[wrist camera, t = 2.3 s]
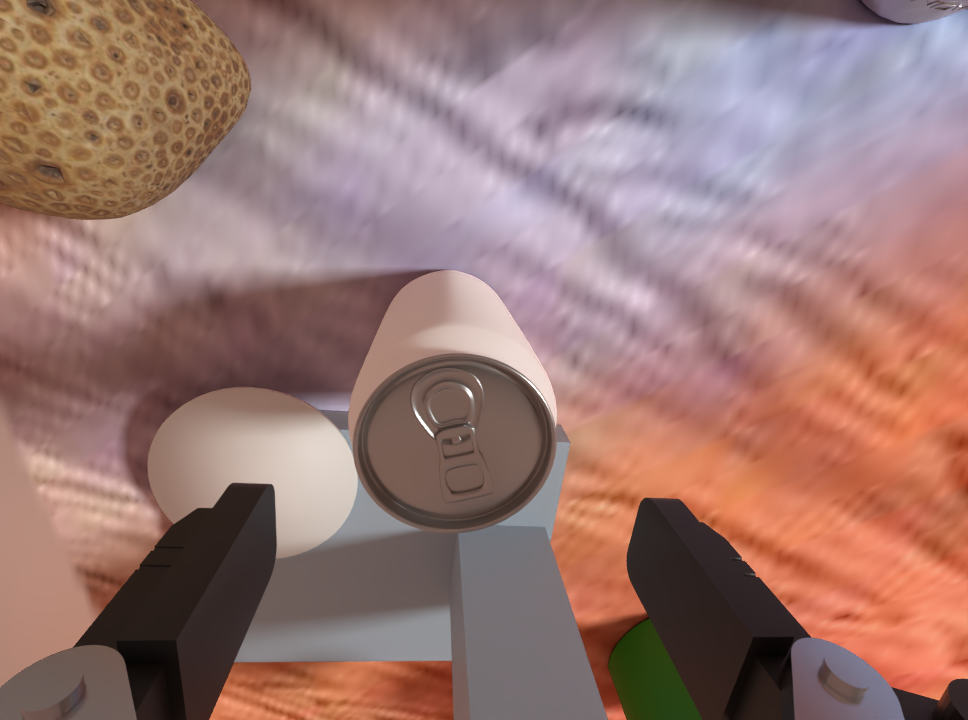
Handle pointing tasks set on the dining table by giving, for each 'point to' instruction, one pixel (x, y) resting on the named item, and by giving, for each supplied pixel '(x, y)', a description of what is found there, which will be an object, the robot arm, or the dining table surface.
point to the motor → (649, 678)
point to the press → (383, 562)
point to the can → (451, 409)
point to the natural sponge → (110, 102)
